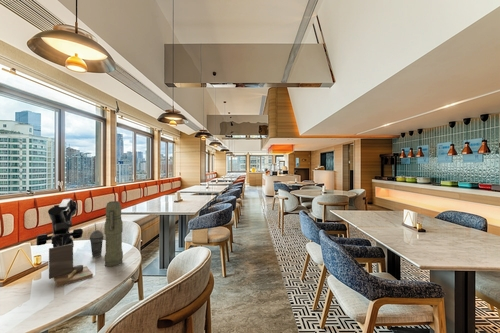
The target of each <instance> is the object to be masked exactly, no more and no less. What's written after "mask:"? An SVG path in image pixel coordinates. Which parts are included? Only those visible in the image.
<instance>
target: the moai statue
mask: <svg viewBox="0 0 500 333" xmlns="http://www.w3.org/2000/svg"><path fill="white" fill-rule="evenodd" d="M123 224H124V223H123V220H122V203H121V202H120V201H118V200H115V201H109V202H107V203H106V206H105V222H104V224H103V225H104V231H103V232H104V233H103V235H104V236H105V254H104V255H103V256H104V266H105V267H106V268H114V267H117V266H120V265H122V264H123V263H124V262H123V258H124V251H123V246H122V245H123V242H122V241H123V240H122V239H123V237H122V235H123V234H122V233H123V230H124V229H123V227H124V226H123Z"/></svg>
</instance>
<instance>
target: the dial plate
mask: <svg viewBox="0 0 500 333" xmlns="http://www.w3.org/2000/svg"><path fill="white" fill-rule="evenodd" d="M69 274H71V273H69ZM69 274H66V275H62V276H59V277H55V278H53V280H54V282H55V285H56V287H57V288H59V287H60V288H61V287H63V286H66V285H71V284H73V283H76V282H79V281H83V280H87V279H90V278H93V276H94V274H93V272H92V271H91V270H90V268H88V266H83V270H82V271H80V272H76V273H75V274H74V275H73V276H71V277H70V278H68V275H69Z"/></svg>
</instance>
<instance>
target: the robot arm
mask: <svg viewBox="0 0 500 333" xmlns="http://www.w3.org/2000/svg"><path fill="white" fill-rule="evenodd" d="M77 211H78V202H76V201H74V200H73V199H72V198H65V199H62V200H61V202H60V203H59V204H55V205H54V206H52V207H50V208H49V209H48V211H47V213H48V216H49V219H50V220H51V226H52V227H51V228H52V233H53V234H52V235H48V233H44V234H38V235H37V236H36V239H35V241H36V243H35V244H36V246H42V245H46V244H47V243H48V242H47V241H51V245H52V248H53V247H58V246H63V245H68V244H73V248H74V239H76V240H77V239H79V238H80V239H81V238H82V237H83V233H84V231H83V229H82V228H75V229H73V230H72V232H71V227H72V226H73V224H72V219H73V216H75V215H76V213H77Z"/></svg>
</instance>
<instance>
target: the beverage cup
mask: <svg viewBox="0 0 500 333" xmlns="http://www.w3.org/2000/svg"><path fill="white" fill-rule="evenodd" d="M104 237H105V235H104V233H103V232H102V231H101V230H99V229H98V230H97V226H96V223H94V231H92V232H91V234H90V235H89V241H90V248H91V256H92V258H98V257H101V256H102V250H103V240H104Z"/></svg>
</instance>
